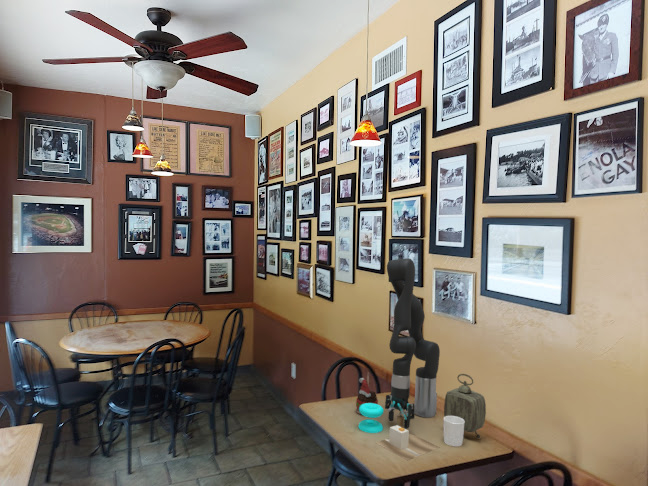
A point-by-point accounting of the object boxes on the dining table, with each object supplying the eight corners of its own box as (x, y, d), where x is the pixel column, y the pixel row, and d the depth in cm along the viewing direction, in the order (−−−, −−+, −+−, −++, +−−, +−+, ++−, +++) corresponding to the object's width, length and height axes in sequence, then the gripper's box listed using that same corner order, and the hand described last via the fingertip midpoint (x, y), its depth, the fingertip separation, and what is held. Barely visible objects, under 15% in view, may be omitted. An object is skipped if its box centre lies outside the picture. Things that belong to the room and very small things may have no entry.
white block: (396, 440, 169) (397, 423, 169) (408, 446, 164) (409, 429, 164) (389, 443, 167) (389, 425, 167) (400, 449, 162) (401, 431, 162)
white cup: (460, 452, 164) (461, 425, 164) (439, 446, 169) (440, 420, 169) (465, 444, 171) (467, 418, 171) (445, 439, 175) (446, 414, 175)
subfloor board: (407, 434, 178) (407, 431, 178) (439, 450, 165) (440, 447, 165) (375, 445, 167) (375, 442, 167) (407, 463, 154) (407, 460, 154)
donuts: (360, 400, 186) (384, 403, 184) (359, 424, 186) (383, 427, 184) (357, 409, 176) (382, 412, 174) (356, 434, 176) (381, 437, 174)
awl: (399, 429, 183) (400, 407, 183) (404, 431, 180) (405, 409, 180) (395, 430, 181) (396, 409, 181) (400, 433, 179) (401, 411, 179)
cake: (382, 415, 197) (383, 374, 197) (365, 418, 192) (367, 377, 192) (367, 407, 206) (368, 368, 206) (351, 410, 201) (353, 371, 201)
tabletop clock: (484, 439, 177) (487, 376, 177) (473, 445, 171) (476, 381, 171) (452, 427, 187) (454, 368, 187) (440, 432, 181) (443, 372, 181)
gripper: (381, 381, 184) (379, 420, 184) (407, 391, 173) (405, 432, 173) (394, 379, 189) (392, 416, 189) (420, 388, 178) (418, 428, 177)
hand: (398, 424), depth 181 cm, fingers open, 8 cm apart
